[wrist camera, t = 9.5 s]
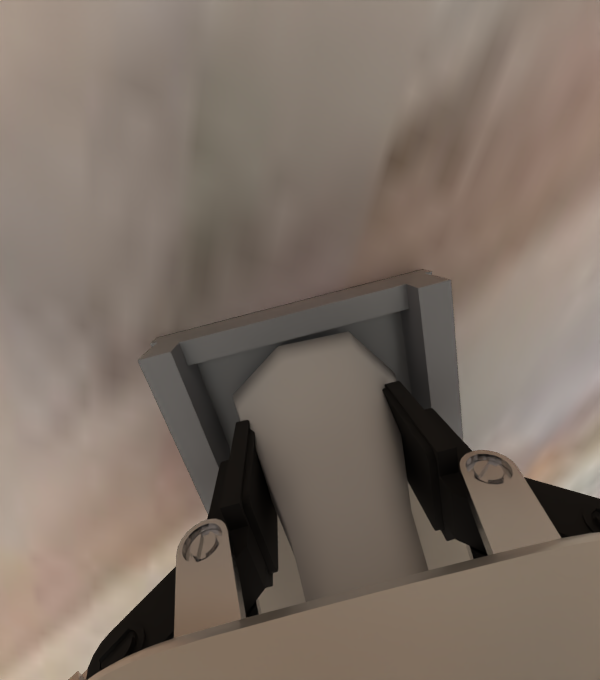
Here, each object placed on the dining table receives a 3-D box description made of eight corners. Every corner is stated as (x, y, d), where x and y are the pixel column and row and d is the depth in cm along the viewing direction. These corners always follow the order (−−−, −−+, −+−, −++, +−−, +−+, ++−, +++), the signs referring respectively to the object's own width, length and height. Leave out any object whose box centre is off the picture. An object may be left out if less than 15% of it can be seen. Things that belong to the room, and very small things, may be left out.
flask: (356, 299, 12) (643, 524, 3) (423, 430, 15) (700, 794, 5) (202, 386, 13) (10, 807, 3) (289, 498, 15) (317, 931, 6)
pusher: (252, 484, 15) (242, 631, 10) (409, 444, 15) (490, 567, 10) (269, 528, 16) (267, 684, 11) (416, 489, 16) (493, 625, 11)
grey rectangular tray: (157, 337, 14) (74, 411, 8) (422, 269, 14) (530, 293, 8) (283, 637, 21) (288, 788, 15) (456, 592, 21) (525, 726, 15)
